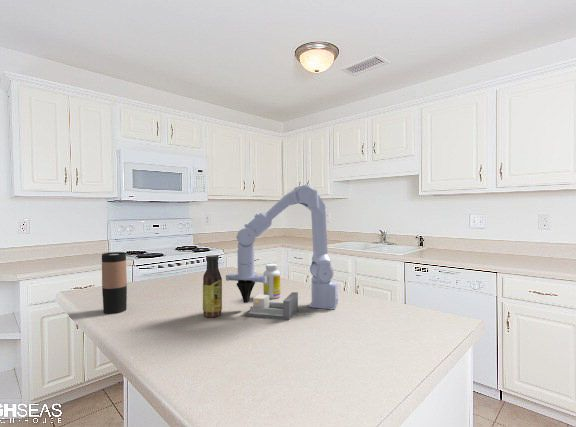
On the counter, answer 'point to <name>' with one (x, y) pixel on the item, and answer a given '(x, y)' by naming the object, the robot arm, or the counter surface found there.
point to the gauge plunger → (261, 301)
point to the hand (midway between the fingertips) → (246, 302)
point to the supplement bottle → (272, 281)
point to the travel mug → (114, 282)
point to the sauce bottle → (212, 288)
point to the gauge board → (277, 309)
